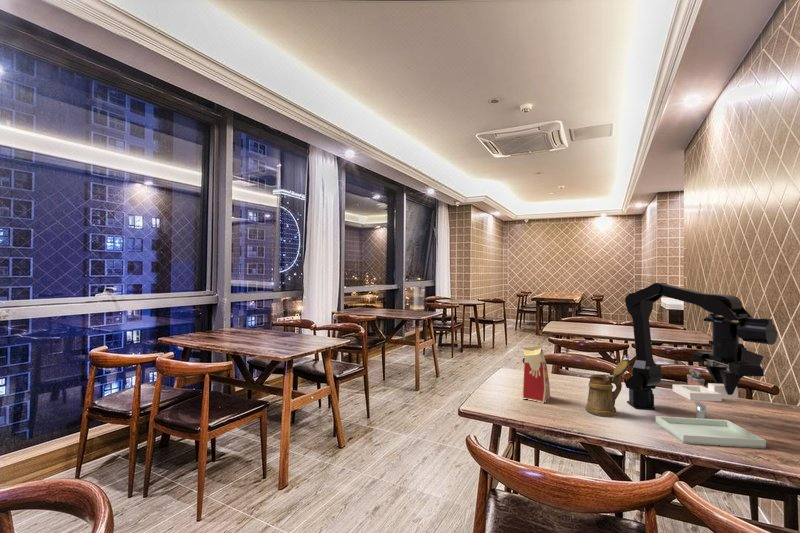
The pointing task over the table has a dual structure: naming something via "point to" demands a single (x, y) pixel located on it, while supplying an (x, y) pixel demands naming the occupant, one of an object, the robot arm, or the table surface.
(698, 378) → the lighter
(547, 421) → the table surface
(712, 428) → the tray
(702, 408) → the grey knob with bar
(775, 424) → the table surface
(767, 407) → the table surface
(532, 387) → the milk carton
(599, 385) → the wooden mug
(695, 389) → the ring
